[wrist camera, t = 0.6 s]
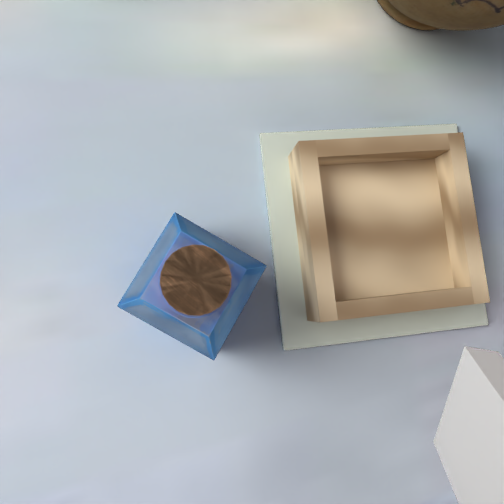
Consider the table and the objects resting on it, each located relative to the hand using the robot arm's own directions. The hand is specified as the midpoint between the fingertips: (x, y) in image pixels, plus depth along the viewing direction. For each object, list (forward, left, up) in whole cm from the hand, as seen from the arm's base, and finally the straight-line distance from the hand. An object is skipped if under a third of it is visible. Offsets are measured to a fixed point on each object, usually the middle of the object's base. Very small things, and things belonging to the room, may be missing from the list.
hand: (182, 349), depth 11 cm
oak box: (-5, +15, -20) cm, 25 cm away
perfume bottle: (-2, +1, -21) cm, 21 cm away
